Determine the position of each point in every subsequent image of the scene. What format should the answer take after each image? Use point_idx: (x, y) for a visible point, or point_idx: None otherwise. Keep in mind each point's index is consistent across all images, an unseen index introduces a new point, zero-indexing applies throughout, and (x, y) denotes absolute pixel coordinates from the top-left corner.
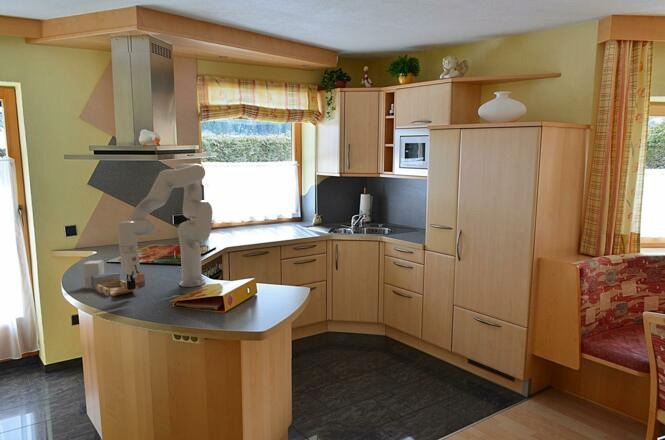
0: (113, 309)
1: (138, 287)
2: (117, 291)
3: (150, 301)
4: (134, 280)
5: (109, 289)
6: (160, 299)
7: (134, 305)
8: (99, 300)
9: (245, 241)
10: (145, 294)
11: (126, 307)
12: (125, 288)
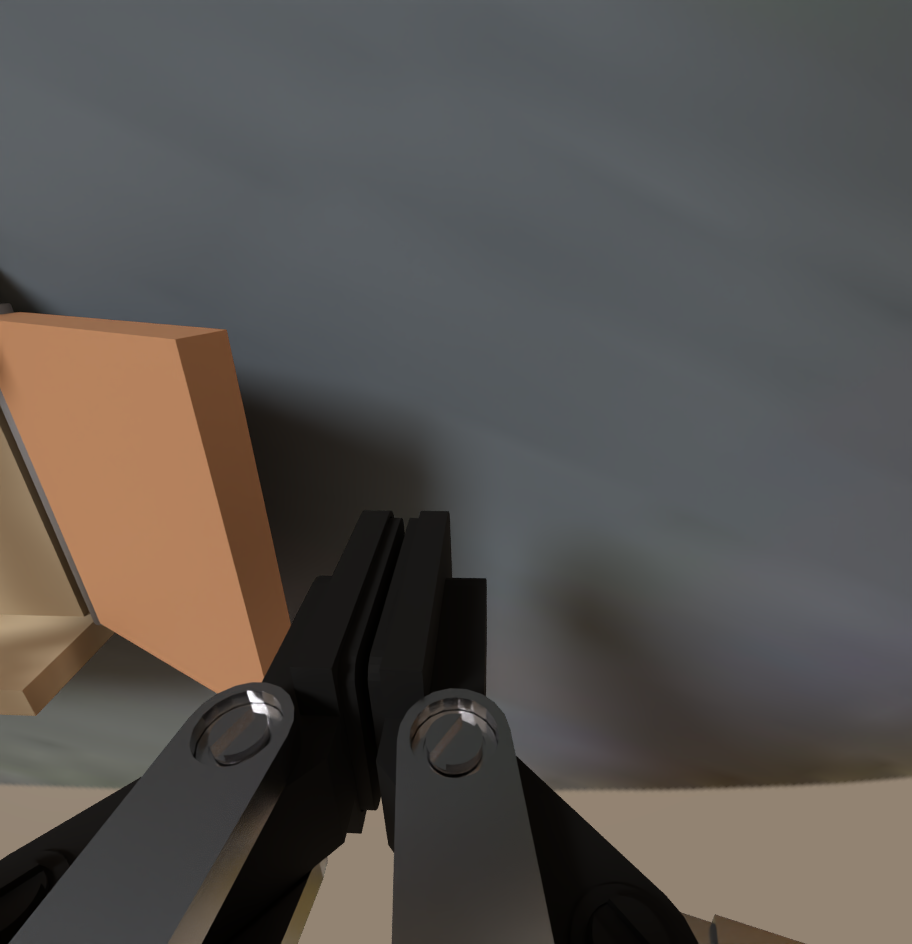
0: (648, 739)
1: (221, 337)
2: None
3: (760, 291)
4: (485, 718)
5: (26, 698)
6: (831, 57)
7: (723, 550)
8: (167, 701)
9: None
10: (209, 136)
11: (710, 640)
12: (251, 615)
